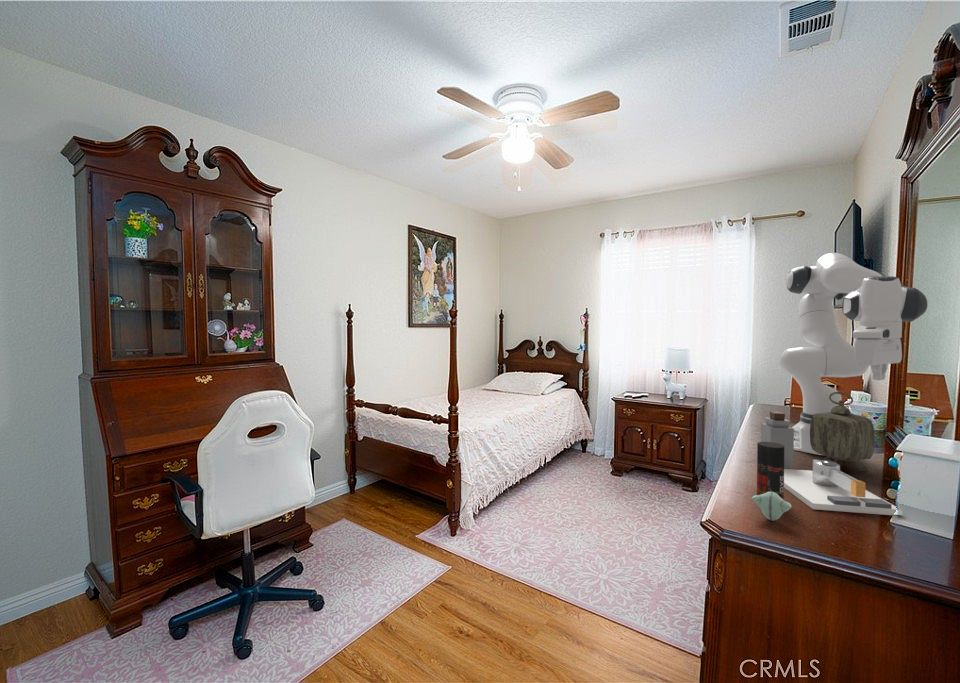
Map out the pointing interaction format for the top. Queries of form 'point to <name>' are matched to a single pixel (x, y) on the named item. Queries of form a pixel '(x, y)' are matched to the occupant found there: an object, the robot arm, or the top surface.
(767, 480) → the deodorant
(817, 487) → the stand
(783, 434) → the perfume bottle
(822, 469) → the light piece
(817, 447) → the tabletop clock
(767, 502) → the mint green pointed piece
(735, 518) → the top surface
